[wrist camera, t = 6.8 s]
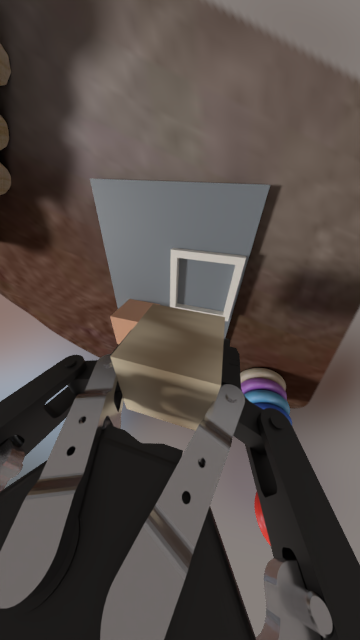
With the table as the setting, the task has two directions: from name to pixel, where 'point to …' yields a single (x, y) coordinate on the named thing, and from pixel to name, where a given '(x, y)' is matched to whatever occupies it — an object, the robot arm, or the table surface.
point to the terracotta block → (128, 317)
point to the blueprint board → (178, 240)
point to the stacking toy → (265, 393)
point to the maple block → (171, 364)
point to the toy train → (0, 133)
